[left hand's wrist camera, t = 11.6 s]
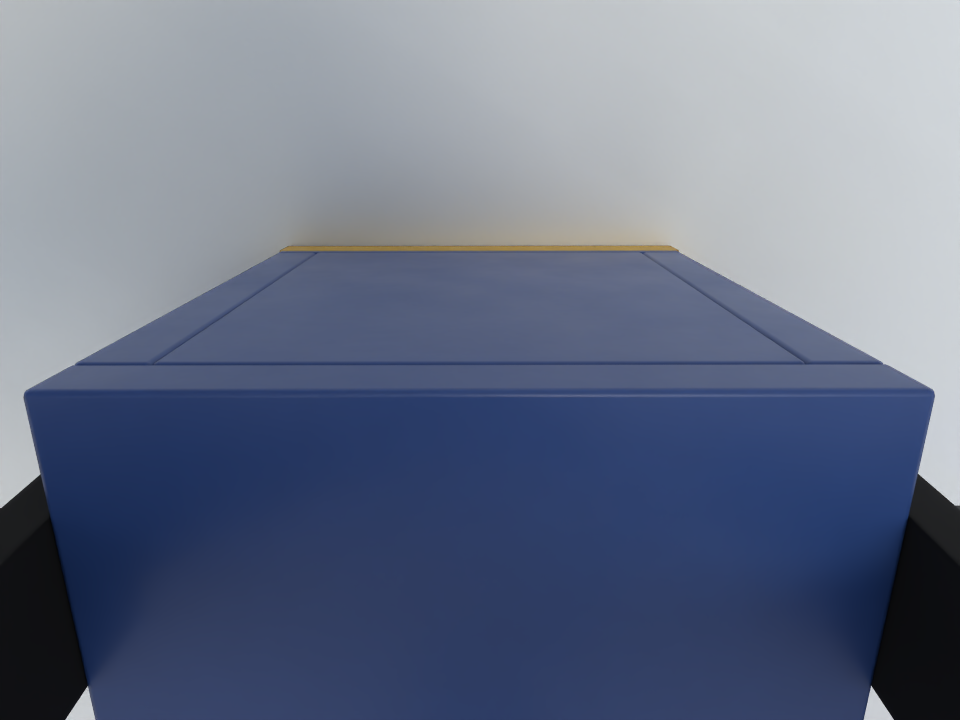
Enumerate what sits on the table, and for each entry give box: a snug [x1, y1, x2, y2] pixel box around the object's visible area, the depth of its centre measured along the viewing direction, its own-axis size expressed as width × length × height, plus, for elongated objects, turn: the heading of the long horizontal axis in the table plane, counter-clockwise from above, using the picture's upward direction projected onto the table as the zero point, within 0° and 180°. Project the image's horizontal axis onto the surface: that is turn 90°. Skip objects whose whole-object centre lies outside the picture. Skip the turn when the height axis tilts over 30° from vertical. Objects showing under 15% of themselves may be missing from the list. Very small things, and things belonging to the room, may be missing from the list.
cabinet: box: [24, 246, 935, 720], centre depth 17 cm, size 19×11×12 cm, turn 0°
